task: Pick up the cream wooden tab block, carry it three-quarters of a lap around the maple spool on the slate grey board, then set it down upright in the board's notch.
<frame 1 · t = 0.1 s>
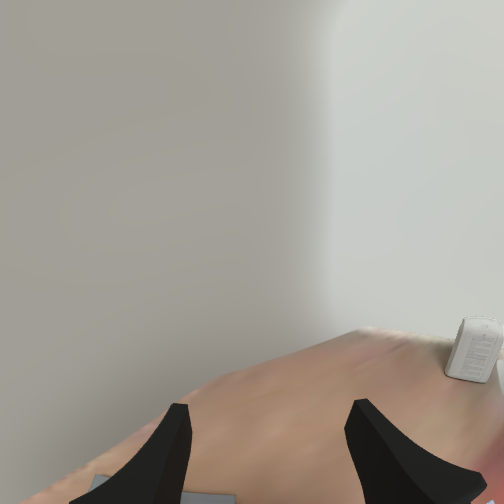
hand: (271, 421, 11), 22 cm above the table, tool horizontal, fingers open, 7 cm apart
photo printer: (466, 376, 39), on the table
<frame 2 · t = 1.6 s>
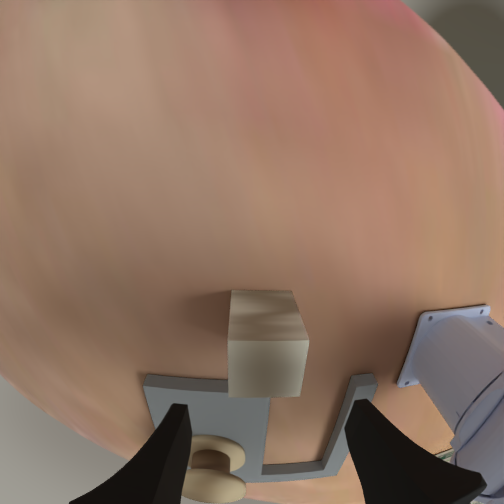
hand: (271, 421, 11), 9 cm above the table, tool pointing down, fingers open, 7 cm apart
tab block: (260, 316, 20), on the table
notched board: (258, 436, 24), on the table
spool: (211, 452, 23), resting on notched board
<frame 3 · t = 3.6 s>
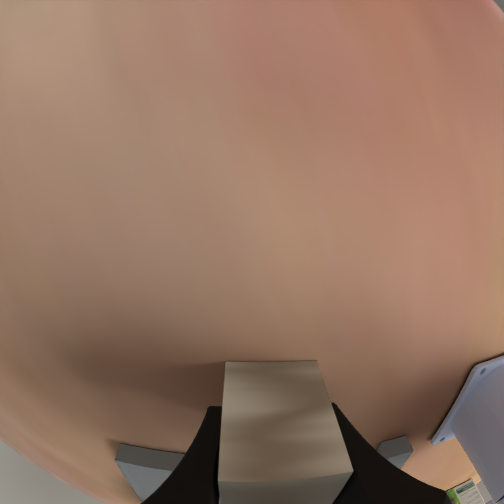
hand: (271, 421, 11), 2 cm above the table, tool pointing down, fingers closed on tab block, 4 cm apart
tab block: (268, 393, 13), on the table, touching gripper
notched board: (262, 501, 17), on the table
syrup box: (450, 491, 23), on the table
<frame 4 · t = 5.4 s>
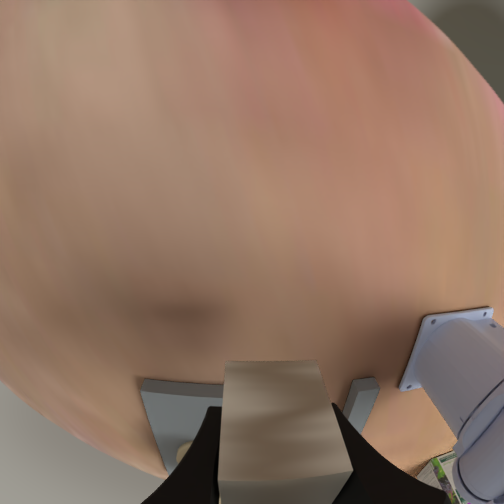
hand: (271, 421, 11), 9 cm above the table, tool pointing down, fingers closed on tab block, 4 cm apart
tab block: (268, 392, 13), point 7 cm above the table, touching gripper
notched board: (258, 441, 23), on the table
syrup box: (435, 462, 29), on the table
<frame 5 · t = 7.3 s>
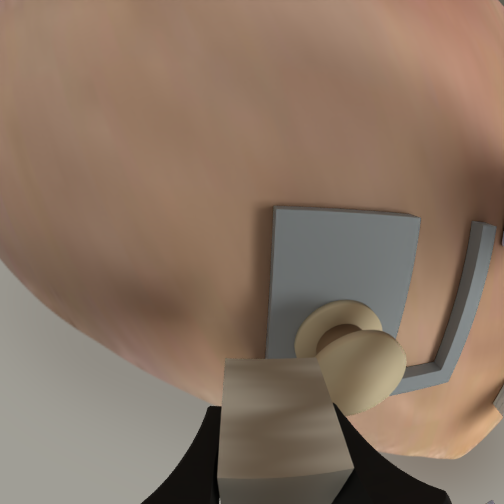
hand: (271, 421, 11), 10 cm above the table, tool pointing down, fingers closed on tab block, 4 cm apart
tab block: (268, 390, 13), point 8 cm above the table, touching gripper
notched board: (386, 314, 21), on the table
spool: (338, 339, 19), resting on notched board
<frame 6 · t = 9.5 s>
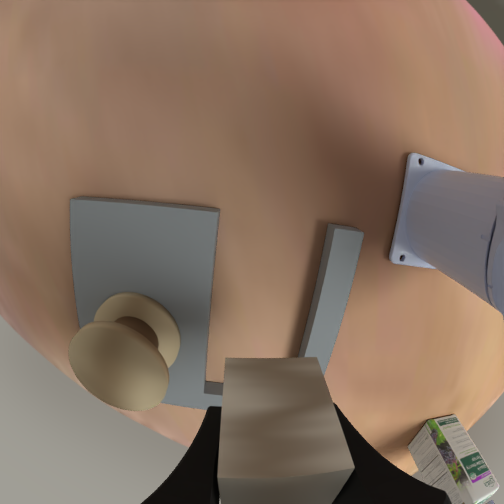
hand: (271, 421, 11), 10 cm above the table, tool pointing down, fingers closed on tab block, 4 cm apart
tab block: (268, 390, 13), point 8 cm above the table, touching gripper
notched board: (202, 319, 20), on the table
syrup box: (430, 429, 27), on the table
spool: (137, 332, 19), resting on notched board
when the fingers open (3 cm above the table, at t = 11.4 s): tab block drops 1 cm, resting in notched board.
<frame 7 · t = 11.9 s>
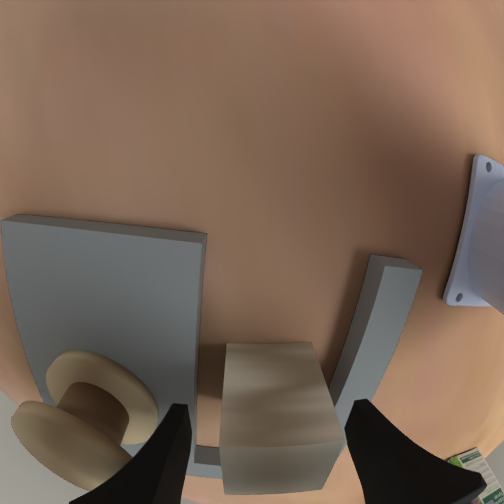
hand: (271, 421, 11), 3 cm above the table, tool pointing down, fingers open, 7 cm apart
tab block: (267, 374, 14), resting in notched board
notched board: (187, 383, 14), on the table
syrup box: (450, 464, 20), on the table
spool: (102, 397, 12), resting on notched board
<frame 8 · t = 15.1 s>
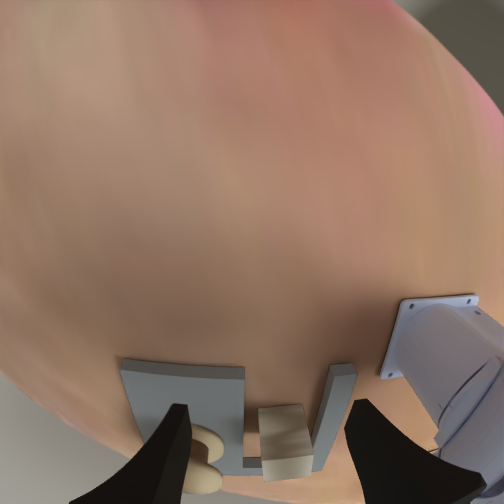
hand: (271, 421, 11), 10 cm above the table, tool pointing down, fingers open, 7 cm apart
tab block: (280, 419, 24), resting in notched board
notched board: (237, 427, 24), on the table
spool: (190, 441, 23), resting on notched board
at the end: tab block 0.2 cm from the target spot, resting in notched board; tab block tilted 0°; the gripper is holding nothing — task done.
